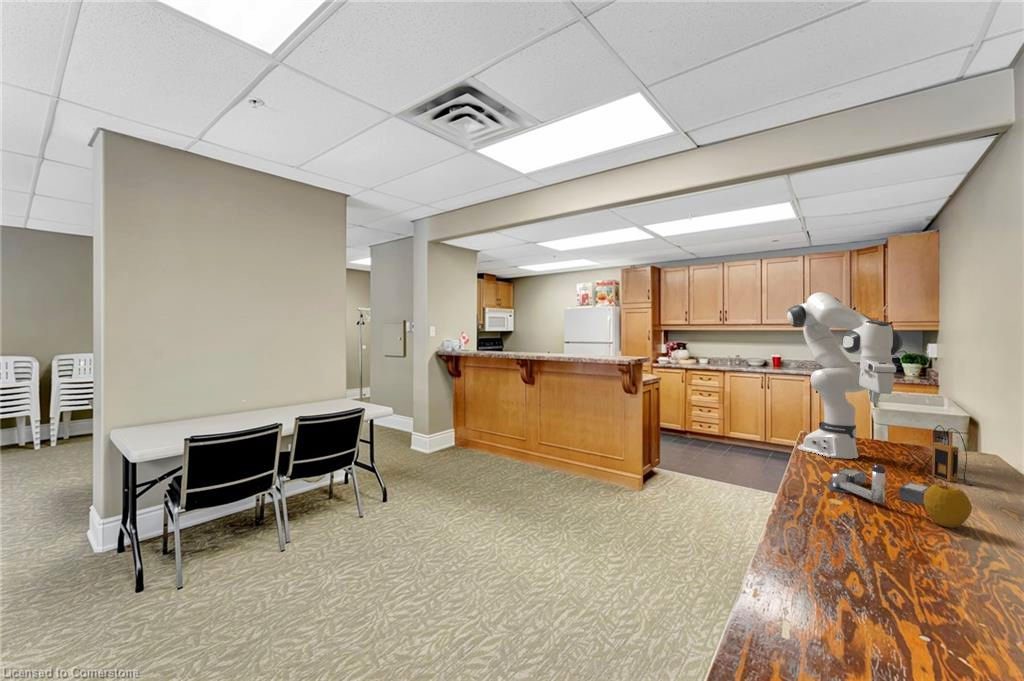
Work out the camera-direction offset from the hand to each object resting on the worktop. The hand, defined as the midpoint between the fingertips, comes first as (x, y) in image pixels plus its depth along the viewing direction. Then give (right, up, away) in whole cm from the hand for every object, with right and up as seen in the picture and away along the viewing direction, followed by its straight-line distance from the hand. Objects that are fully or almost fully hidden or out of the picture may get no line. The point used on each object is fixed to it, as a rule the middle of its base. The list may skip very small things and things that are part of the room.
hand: (873, 402), depth 158 cm
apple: (-8, -31, -34) cm, 47 cm away
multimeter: (+34, -30, +4) cm, 45 cm away
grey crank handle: (-17, -28, -14) cm, 36 cm away
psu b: (-9, -29, -1) cm, 31 cm away
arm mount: (-18, -30, -7) cm, 35 cm away
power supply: (+1, -30, -15) cm, 34 cm away
